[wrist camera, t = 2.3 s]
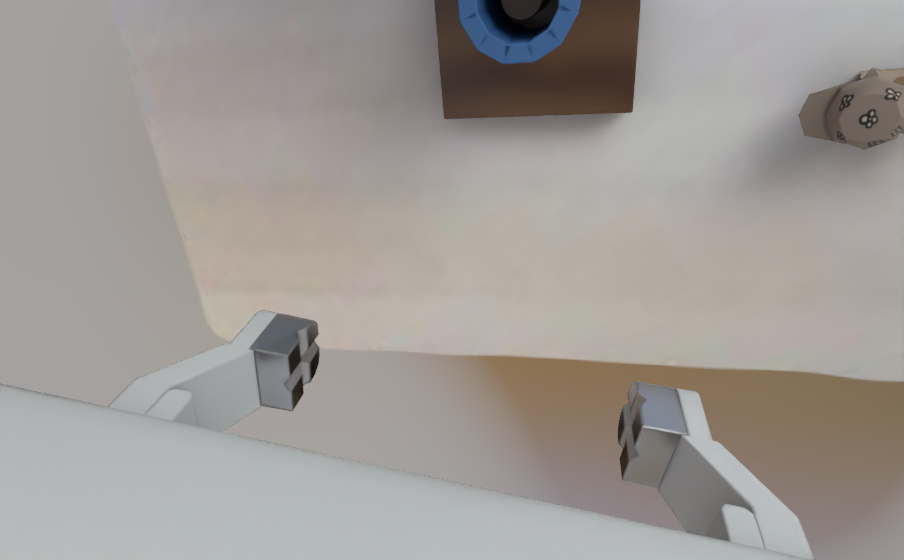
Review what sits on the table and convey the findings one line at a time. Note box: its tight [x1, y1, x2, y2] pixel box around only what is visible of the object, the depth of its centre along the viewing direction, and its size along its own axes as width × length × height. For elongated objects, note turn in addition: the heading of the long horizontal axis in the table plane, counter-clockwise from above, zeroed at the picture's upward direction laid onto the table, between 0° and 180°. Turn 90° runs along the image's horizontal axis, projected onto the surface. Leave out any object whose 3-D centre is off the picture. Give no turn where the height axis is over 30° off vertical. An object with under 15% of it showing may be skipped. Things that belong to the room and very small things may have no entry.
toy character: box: [799, 68, 904, 149], centre depth 31 cm, size 4×8×6 cm, turn 100°
